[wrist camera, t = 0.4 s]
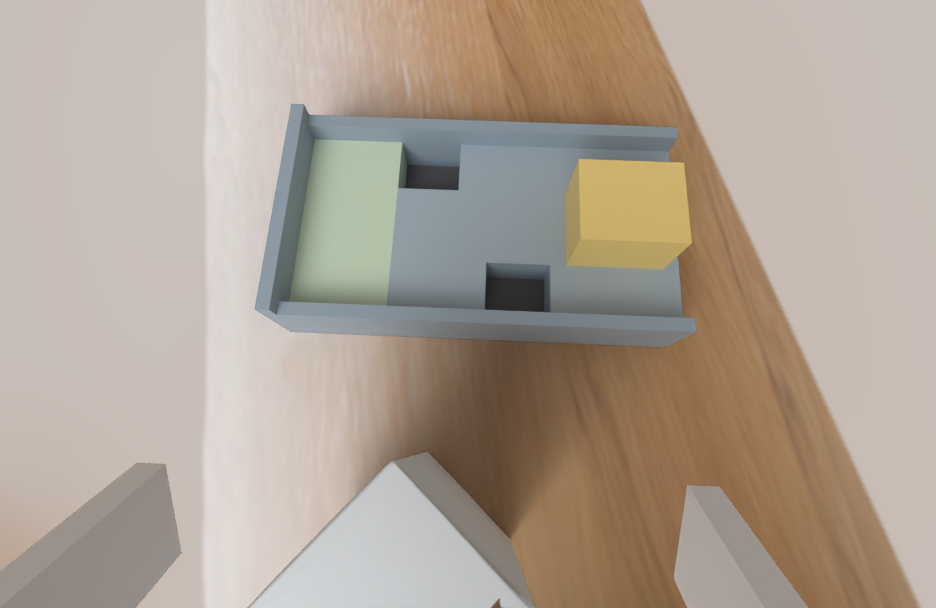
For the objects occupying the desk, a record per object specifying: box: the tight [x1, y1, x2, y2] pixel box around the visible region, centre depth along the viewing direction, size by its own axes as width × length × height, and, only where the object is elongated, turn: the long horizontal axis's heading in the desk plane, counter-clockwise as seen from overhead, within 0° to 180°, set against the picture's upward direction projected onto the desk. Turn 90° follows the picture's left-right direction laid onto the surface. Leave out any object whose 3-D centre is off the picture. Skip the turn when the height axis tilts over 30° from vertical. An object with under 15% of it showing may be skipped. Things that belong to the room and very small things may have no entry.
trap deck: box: [255, 104, 697, 347], centre depth 30 cm, size 14×25×6 cm, turn 87°
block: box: [565, 159, 692, 269], centre depth 28 cm, size 5×6×4 cm
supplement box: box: [248, 452, 536, 608], centre depth 22 cm, size 7×7×13 cm
